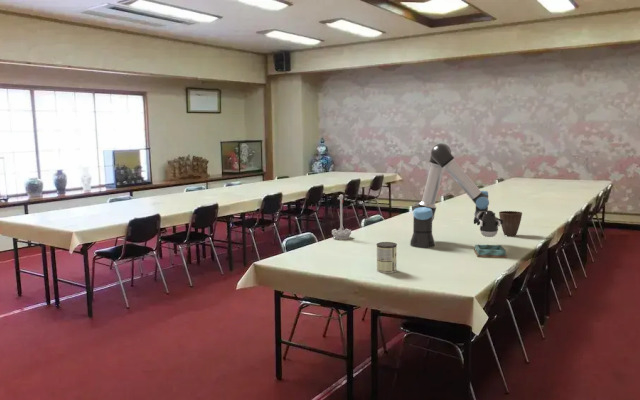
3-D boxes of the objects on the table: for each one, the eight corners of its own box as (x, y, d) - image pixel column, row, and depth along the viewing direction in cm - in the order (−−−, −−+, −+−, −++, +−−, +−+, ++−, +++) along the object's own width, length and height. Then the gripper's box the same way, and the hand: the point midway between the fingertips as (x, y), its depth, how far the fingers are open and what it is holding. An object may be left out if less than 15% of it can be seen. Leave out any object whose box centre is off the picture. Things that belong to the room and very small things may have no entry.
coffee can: (375, 268, 280) (375, 242, 279) (394, 268, 281) (394, 241, 279) (378, 273, 270) (378, 246, 269) (398, 273, 271) (398, 245, 269)
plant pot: (497, 236, 363) (497, 213, 361) (499, 232, 376) (500, 210, 374) (520, 238, 357) (521, 214, 355) (522, 234, 370) (523, 211, 368)
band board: (477, 256, 304) (477, 250, 303) (474, 250, 319) (474, 244, 319) (506, 257, 301) (507, 250, 301) (501, 251, 317) (502, 244, 316)
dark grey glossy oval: (486, 238, 305) (487, 212, 304) (476, 235, 315) (476, 209, 313) (501, 237, 308) (502, 211, 306) (491, 234, 318) (491, 208, 316)
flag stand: (348, 240, 355) (347, 195, 351) (329, 239, 359) (329, 195, 356) (353, 236, 367) (353, 193, 364) (335, 235, 372) (334, 193, 368)
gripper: (502, 224, 327) (510, 230, 305) (465, 223, 330) (470, 230, 308) (502, 212, 326) (510, 217, 304) (465, 211, 329) (471, 217, 307)
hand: (490, 223), depth 306 cm, fingers closed on dark grey glossy oval, 9 cm apart
